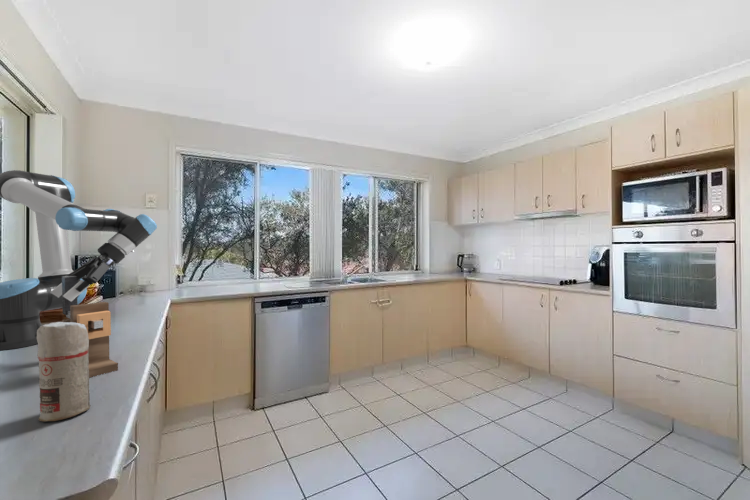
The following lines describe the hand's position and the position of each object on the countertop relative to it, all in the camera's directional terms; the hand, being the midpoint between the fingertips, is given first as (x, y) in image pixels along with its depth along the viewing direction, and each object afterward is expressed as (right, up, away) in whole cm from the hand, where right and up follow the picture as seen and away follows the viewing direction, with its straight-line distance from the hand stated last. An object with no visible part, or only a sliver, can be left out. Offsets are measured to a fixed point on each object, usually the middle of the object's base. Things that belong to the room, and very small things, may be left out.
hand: (60, 296), depth 106 cm
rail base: (+11, -20, -4) cm, 23 cm away
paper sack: (+33, -21, -34) cm, 52 cm away
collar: (+20, -10, -10) cm, 25 cm away
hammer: (+11, -7, -5) cm, 14 cm away
